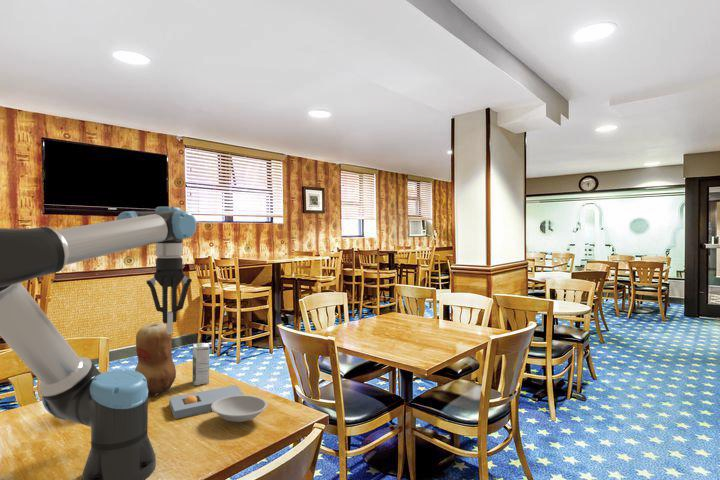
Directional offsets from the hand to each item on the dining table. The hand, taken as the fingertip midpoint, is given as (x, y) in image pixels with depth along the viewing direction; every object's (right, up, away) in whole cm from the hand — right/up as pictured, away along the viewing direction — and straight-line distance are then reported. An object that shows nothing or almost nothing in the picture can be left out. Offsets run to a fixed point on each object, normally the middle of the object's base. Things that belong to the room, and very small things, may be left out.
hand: (169, 333), depth 127 cm
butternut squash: (-14, -26, +19) cm, 35 cm away
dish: (+22, -27, -1) cm, 35 cm away
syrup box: (-2, -26, +30) cm, 40 cm away
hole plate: (+8, -26, +10) cm, 29 cm away
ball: (+3, -24, +7) cm, 26 cm away
